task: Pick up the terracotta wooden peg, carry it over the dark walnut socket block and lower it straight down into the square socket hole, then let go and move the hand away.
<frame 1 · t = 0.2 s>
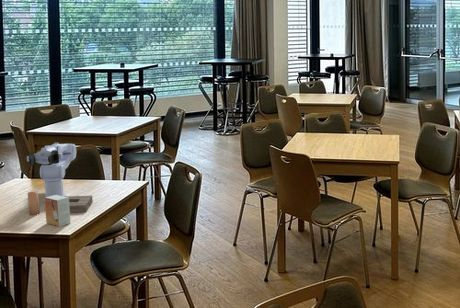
hand: (39, 160, 264), 21 cm above the table, tool horizontal, fingers open, 7 cm apart
peg: (34, 214, 264), on the table
socket block: (72, 207, 273), on the table
small box: (58, 224, 250), on the table
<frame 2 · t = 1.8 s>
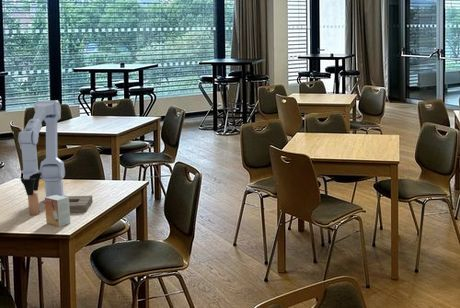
hand: (32, 192, 262), 9 cm above the table, tool pointing down, fingers open, 7 cm apart
nothing on the table moved.
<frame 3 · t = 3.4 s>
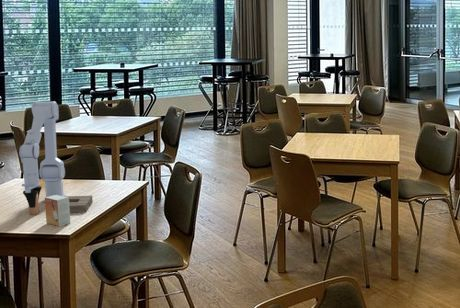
hand: (33, 205, 264), 3 cm above the table, tool pointing down, fingers closed on peg, 4 cm apart
peg: (34, 214, 264), on the table, touching gripper
everything else where it was.
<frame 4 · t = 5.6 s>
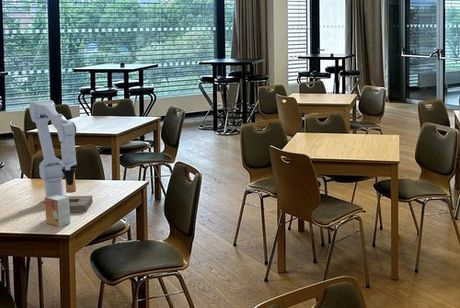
hand: (70, 183, 271), 10 cm above the table, tool pointing down, fingers closed on peg, 4 cm apart
peg: (71, 191, 271), point 7 cm above the table, touching gripper
everything else where it was.
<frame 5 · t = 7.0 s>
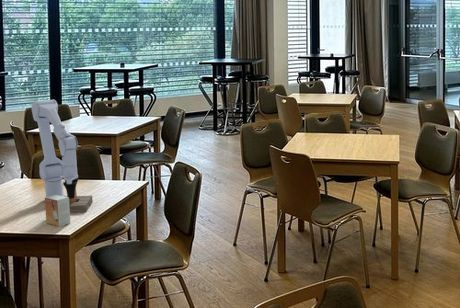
hand: (72, 197, 272), 5 cm above the table, tool pointing down, fingers closed on peg, 4 cm apart
peg: (72, 204, 272), point 1 cm above the table, touching gripper
everything else where it was.
when the fingers open (4 cm above the table, at t = 8.2 s): peg stays where it is, resting in socket block.
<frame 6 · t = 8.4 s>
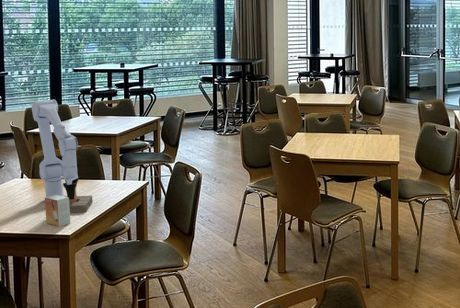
hand: (72, 197, 272), 4 cm above the table, tool pointing down, fingers open, 6 cm apart
peg: (72, 207, 273), resting in socket block
everything else where it was.
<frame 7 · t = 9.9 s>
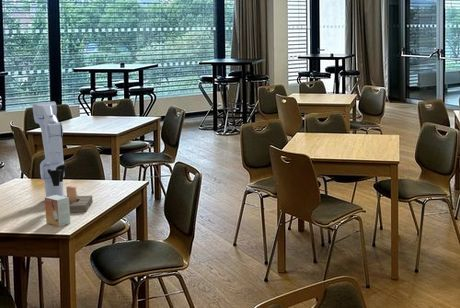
hand: (58, 183, 271), 10 cm above the table, tool pointing down, fingers open, 7 cm apart
nothing on the table moved.
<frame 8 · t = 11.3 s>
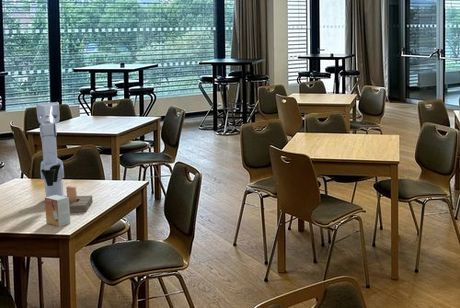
hand: (52, 183, 271), 10 cm above the table, tool pointing down, fingers open, 7 cm apart
nothing on the table moved.
at the end: peg 0.1 cm off-centre on the socket block, point 0.0 cm above the socket block's base; peg tilted 0°; the gripper is holding nothing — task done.
